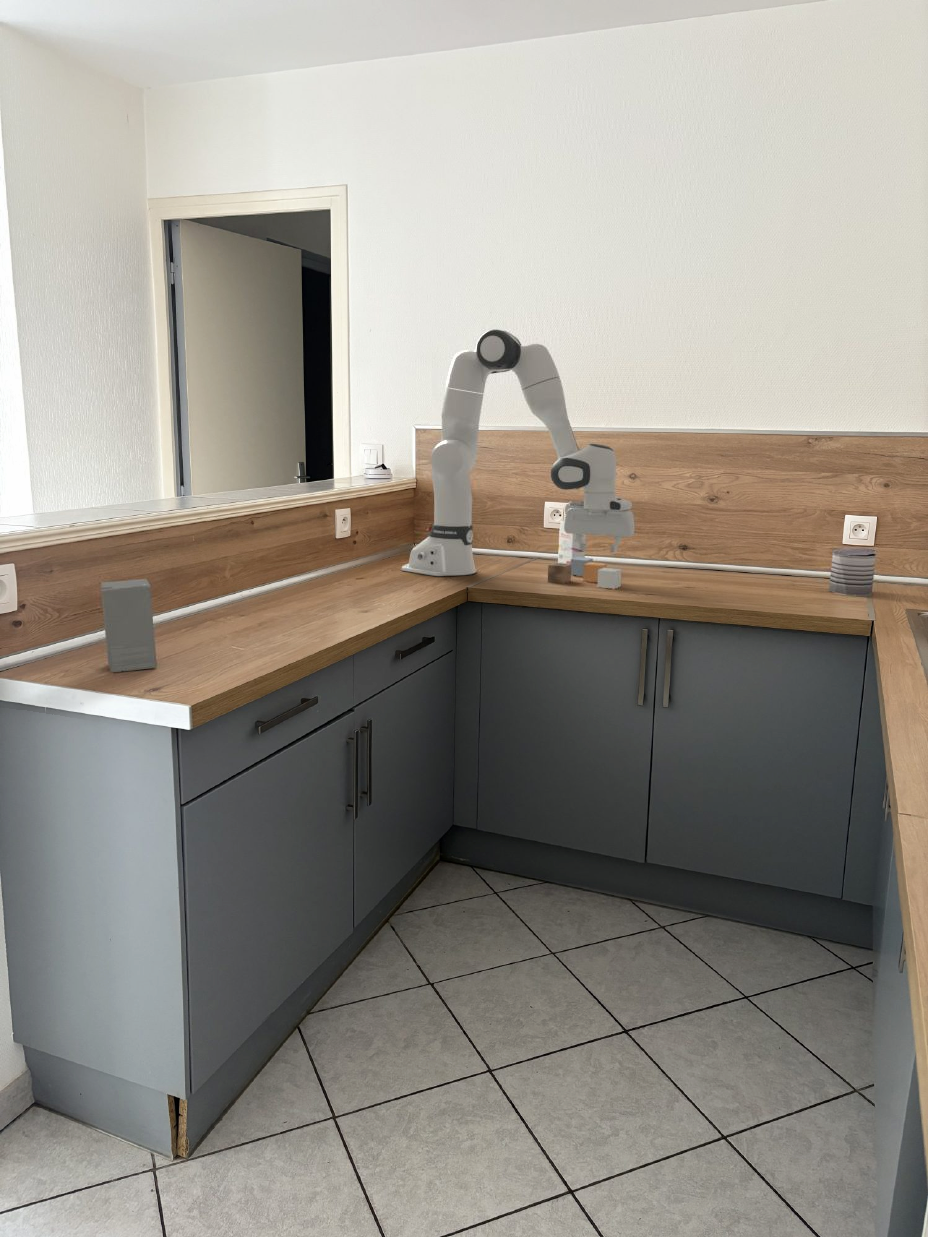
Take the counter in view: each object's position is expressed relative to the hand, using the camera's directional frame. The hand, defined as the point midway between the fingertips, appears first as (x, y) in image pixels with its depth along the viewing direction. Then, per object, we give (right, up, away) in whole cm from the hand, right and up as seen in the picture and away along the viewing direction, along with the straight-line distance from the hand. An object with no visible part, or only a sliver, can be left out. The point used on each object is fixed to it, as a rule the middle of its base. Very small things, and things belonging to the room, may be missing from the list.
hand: (598, 550), depth 268 cm
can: (+69, -12, -8) cm, 70 cm away
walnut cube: (-11, -9, 0) cm, 14 cm away
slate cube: (-4, -7, +11) cm, 13 cm away
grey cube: (+2, -11, -7) cm, 13 cm away
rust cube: (-1, -9, +2) cm, 9 cm away
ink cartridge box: (-5, -4, +22) cm, 23 cm away
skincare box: (-99, -28, -97) cm, 142 cm away
